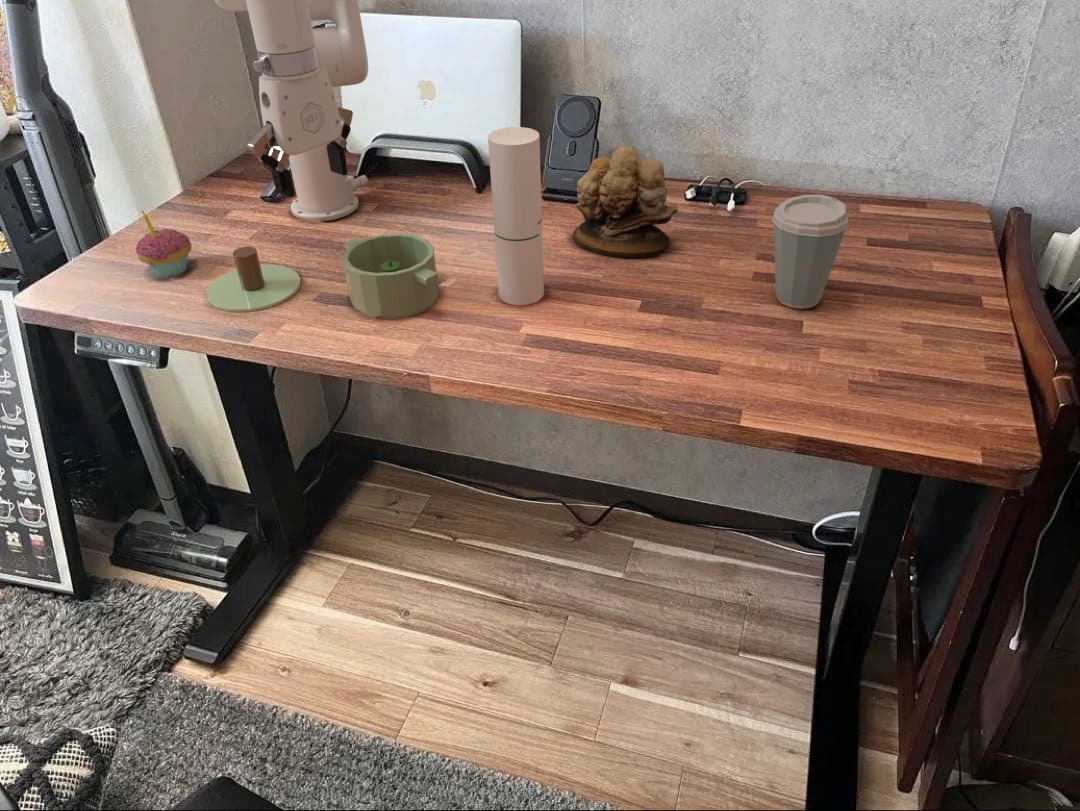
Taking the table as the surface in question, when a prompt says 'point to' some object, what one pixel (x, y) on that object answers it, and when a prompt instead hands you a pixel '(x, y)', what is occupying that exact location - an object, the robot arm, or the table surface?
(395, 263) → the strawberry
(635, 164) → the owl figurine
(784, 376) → the table surface
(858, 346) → the table surface
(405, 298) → the pot
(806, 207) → the disposable coffee cup
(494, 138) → the cylindrical container
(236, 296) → the lid
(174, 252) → the sprinkled cake with candle
